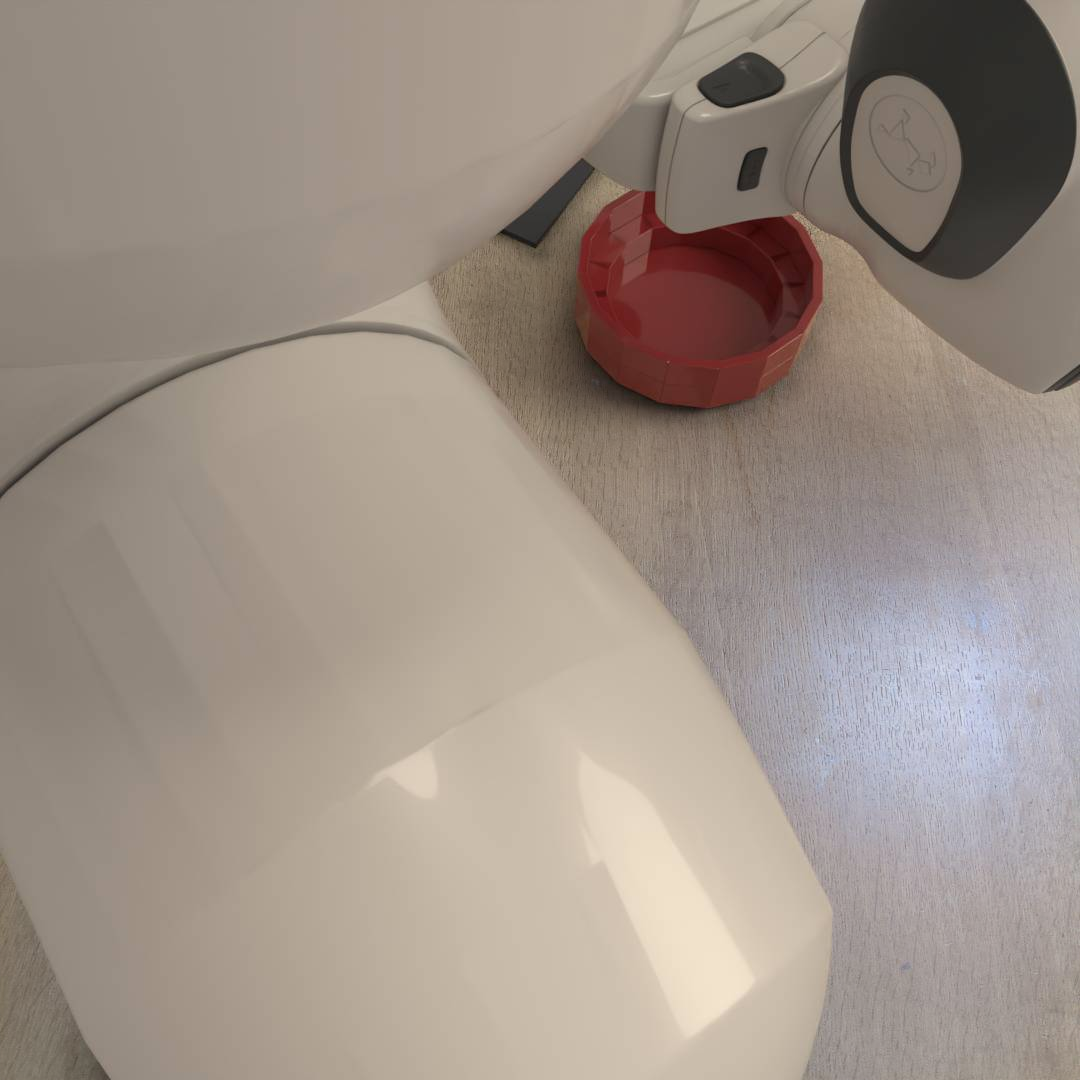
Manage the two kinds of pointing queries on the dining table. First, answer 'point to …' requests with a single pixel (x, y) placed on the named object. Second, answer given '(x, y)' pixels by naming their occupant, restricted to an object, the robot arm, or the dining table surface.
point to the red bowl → (695, 302)
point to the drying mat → (549, 206)
